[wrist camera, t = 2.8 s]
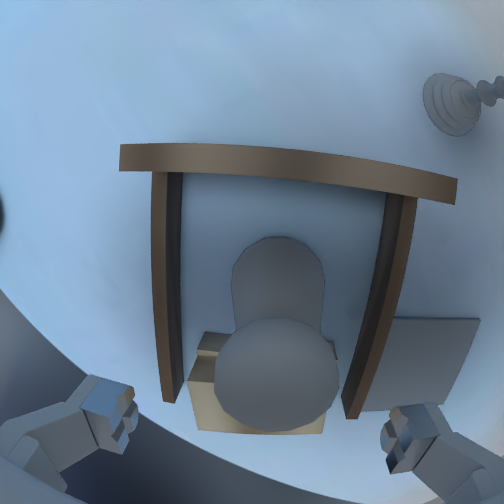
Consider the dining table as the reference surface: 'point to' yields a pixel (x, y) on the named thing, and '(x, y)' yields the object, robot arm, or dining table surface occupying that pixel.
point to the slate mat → (420, 361)
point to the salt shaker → (276, 340)
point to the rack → (295, 168)
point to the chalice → (458, 101)
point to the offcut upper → (211, 411)
